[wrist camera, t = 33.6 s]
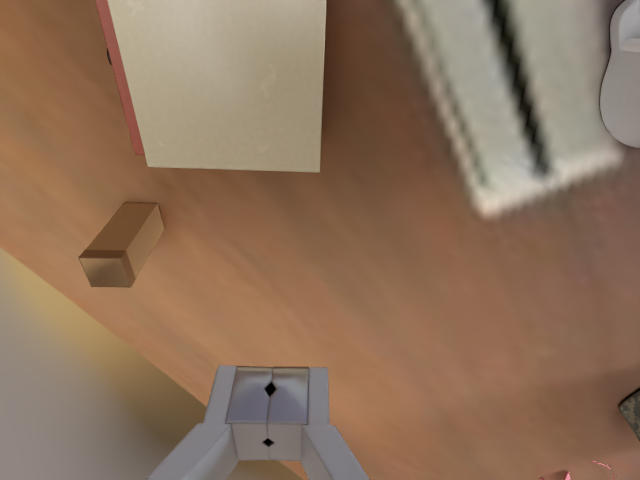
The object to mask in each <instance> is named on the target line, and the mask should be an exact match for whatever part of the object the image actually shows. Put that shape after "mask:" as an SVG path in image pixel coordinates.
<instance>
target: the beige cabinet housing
mask: <svg viewBox="0 0 640 480" xmlns="http://www.w3.org/2000/svg"><path fill="white" fill-rule="evenodd" d="M107 1H108V5H109V9H110V13H111V17H112V21H113V25H114V29H115V33H116V38H117V42H118V46H119V50H120V54H121V58H122V62H123V66H124V70H125V74H126V79H127V83H128V87H129V91H130V95H131V99H132V103H133V107H134V111H135V115H136V120H137V124H138V128H139V132H140V136H141V140H142V144H143V148H144V152H145V157H146V161H147V165H148V167H168V168H199V169H230V170H261V171H293V172H320V153H321V127H322V102H323V76H324V50H325V25H326V0H107Z"/></svg>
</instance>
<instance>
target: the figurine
mask: <svg viewBox="0 0 640 480" xmlns="http://www.w3.org/2000/svg"><path fill="white" fill-rule="evenodd" d="M591 462H593V461H591ZM594 463H598V462H594ZM599 464H601V463H599ZM602 465H604V464H602ZM605 466H606V465H605ZM609 466H610V465H609ZM607 467H608V466H607ZM608 468H609V467H608ZM612 472H613V471H612ZM613 474H614V473H613ZM616 477H617V475H616ZM540 480H544V479H543V478H540ZM564 480H570V476H569V473H568V472H567V473H566V475H565V477H564ZM613 480H614V477H613Z"/></svg>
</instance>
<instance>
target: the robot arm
mask: <svg viewBox="0 0 640 480" xmlns="http://www.w3.org/2000/svg"><path fill="white" fill-rule="evenodd" d="M610 39H611V50H612V51H611V57H610V61H609V64H608V67H607V70H606V73H605V76H604V79H603V83H602V88H601V95H600V110H601V115H602V119H603V122H604V124H605V126H606V128H607V130H608V131H609V132H610V134H611V135H612V136H613V137H614V138H616V139H617V140H618V141H620V142H621V143H623V144H625V145H628V146H631V147H635V148H640V0H625V1H624V2H623V3H622V4H621V5H620V6H619V7H618V8H617V9H616V11H615V12H614V14H613V16H612V19H611V24H610ZM308 384H309V385H308ZM237 460H285V461H301V464H302V466H303V468H304V470H305V472H306V474H307V476H308V478H309V480H370V479H369V478H368V476H367V474H366V473H365V471H364V470H363V468H362V467H361V465H360V464H359V462H358V461H357V459H356V458H355V456H354V454H353V453H352V451H351V450H350V448H349V447H348V445H347V444H346V442H345V441H344V439H343V438H342V436H341V434H340V433H339V431H338V430H337V428H336V427H335V426H332V425H329V390H328V369H327V367H256V366H228V365H219V367H218V369H217V371H216V375H215V379H214V382H213V386H212V390H211V394H210V398H209V402H208V406H207V410H206V414H205V418H204V422H203V423H197V424H196V426H195V427H194V428H193V429H192V430H191V431H190V432H189V433H188V434H187V435H186V436H185V437H184V438H183V439H182V441H181V442H180V443H179V444H178V445H177V446H176V447H175V448H174V449H173V450H172V451H171V452H170V454H169V455H168V456H167V457H166V458H165V459H164V460H163V461H162V462H161V463H160V464H159V465H158V466H157V467H156V468H155V470H154V471H153V472H152V473H151V474H150V475H149V476H148V477H147V478H146V479H145V480H226V479H227V478H228V476H229V475H230V473H231V472H232V470H233V469H234V467H235V466H236V465H237V463H238V461H237Z"/></svg>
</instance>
